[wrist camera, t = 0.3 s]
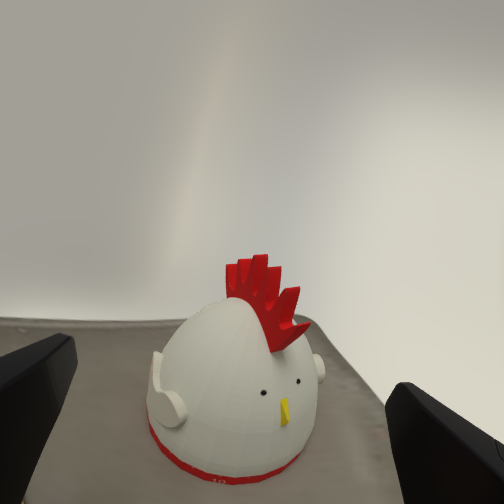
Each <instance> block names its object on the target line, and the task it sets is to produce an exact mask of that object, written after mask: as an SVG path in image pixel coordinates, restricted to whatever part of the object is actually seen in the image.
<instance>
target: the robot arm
mask: <svg viewBox="0 0 504 504" xmlns="http://www.w3.org/2000/svg"><path fill="white" fill-rule="evenodd" d="M77 364H78V359H77V353H76V347H75V341H74V338H73V337H72V336H70V335H67V334H64V333H57V334H54V335H52V336H50V337H47V338H45V339H42V340H40V341H38V342H35V343H33V344H30V345H28V346H25V347H23V348H21V349H18V350H16V351H13V352H11V353H9V354H6V355H4V356H1V357H0V504H21V503H22V501H23V498H24V495H25V492H26V490H27V487H28V485H29V482H30V479H31V477H32V474H33V472H34V470H35V467H36V465H37V462H38V460H39V458H40V455H41V453H42V451H43V448H44V446H45V444H46V442H47V439H48V437H49V435H50V433H51V431H52V429H53V427H54V424H55V422H56V420H57V418H58V416H59V414H60V411H61V409H62V406H63V404H64V401H65V398H66V395H67V392H68V389H69V387H70V384H71V381H72V379H73V376H74V374H75V371H76V368H77ZM385 413H386V418H387V424H388V430H389V437H390V443H391V449H392V454H393V458H394V462H395V466H396V470H397V474H398V478H399V482H400V487H401V491H402V496H403V500H404V504H504V445H503V444H502V443H500V442H499V441H497V440H496V439H494V438H493V437H491V436H490V435H488V434H486V433H485V432H484V431H482V430H481V429H479V428H478V427H476V426H474V425H473V424H472V423H470V422H469V421H467V420H466V419H464V418H463V417H461V416H460V415H458V414H457V413H455V412H454V411H452V410H451V409H449V408H448V407H446V406H445V405H443V404H442V403H440V402H439V401H437V400H436V399H434V398H433V397H432V396H430V395H429V394H427V393H426V392H424V391H423V390H421V389H420V388H418V387H417V386H415V385H414V384H413V383H410V382H400V383H398V384H397V385H396V386H395V388H394V390H393V391H392V393H391V395H390V396H389V398H388V400H387V402H386V404H385Z"/></svg>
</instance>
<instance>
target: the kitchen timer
mask: <svg viewBox="0 0 504 504" xmlns="http://www.w3.org/2000/svg"><path fill="white" fill-rule="evenodd" d="M267 266H268V254H263V255H254V256H253V258H252V259H238V262H237V264H227V265H226V294H227V298H226V299H223V300H220V301H217V302H214V303H212V304H210V305H208V306H206V307H204V308H203V309H202V310H200V311H199V312H197V313H196V314H194V315H193V316H192V317H190V318H189V319H187V320H186V321H185V322H184V323H183V324H182V325H181V326H180V327H179V328H178V329H177V331H176V332H175V333H174V335H173V336H172V338H171V339H170V341H169V342H168V343H167V345H166V346H165V348H164V349H163V351H162V353H159V352H156V351H155V352H154V353H153V358H152V363H151V369H150V376H149V389H148V394H147V400H146V406H147V415H148V421H149V427H150V432H151V434H152V436H153V438H154V440H155V441H156V443H157V445H158V446H159V448H160V450H161V451H162V453H164V454H165V455H166V456H167V457H168V458H169V459H170V460H171V461H172V462H173V463H175V464H176V465H177V466H178V467H179V468H180V469H182V470H184V471H186V472H188V473H190V474H192V475H195V476H197V477H199V478H201V479H203V480H206V481H212V482H217V483H223V484H229V485H236V484H246V483H255V482H260V481H262V480H265V479H267V478H269V477H272V476H274V475H277V474H279V473H281V472H282V471H283V470H284V469H285V468H286V467H288V466H289V465H290V464H291V463H292V462H293V461H294V460H295V459H296V458H297V457H298V455H299V454H300V453H301V451H302V450H303V448H304V446H305V444H306V442H307V440H308V438H309V436H310V434H311V432H312V430H313V427H314V424H315V418H316V406H317V393H318V384H321V383H322V382H323V380H324V378H325V366H324V362H323V360H322V358H321V357H320V356H319V355H317V354H312V351H311V348H310V346H309V343H308V341H307V339H306V337H305V335H304V334H303V333H304V332H305V331H306V330H307V329H308V327H309V326H310V324H311V322H307V323H303V324H298V325H297V324H296V322H295V321H294V320H293V319H292V318H293V315H294V311H295V308H296V305H297V301H298V297H299V293H300V287H292V288H286V289H284V290H283V291H282V293H281V294H280V296H279V289H280V281H281V266H278V267H267ZM278 296H279V297H278Z"/></svg>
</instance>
